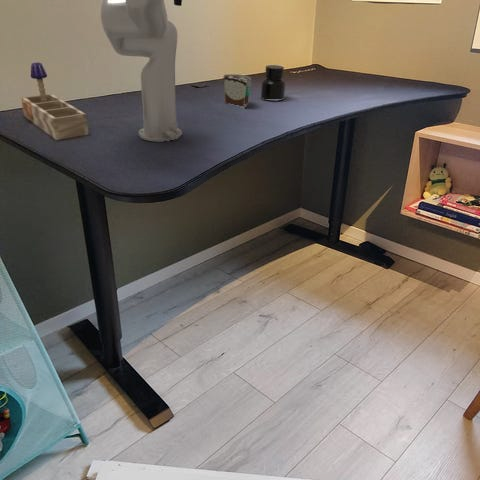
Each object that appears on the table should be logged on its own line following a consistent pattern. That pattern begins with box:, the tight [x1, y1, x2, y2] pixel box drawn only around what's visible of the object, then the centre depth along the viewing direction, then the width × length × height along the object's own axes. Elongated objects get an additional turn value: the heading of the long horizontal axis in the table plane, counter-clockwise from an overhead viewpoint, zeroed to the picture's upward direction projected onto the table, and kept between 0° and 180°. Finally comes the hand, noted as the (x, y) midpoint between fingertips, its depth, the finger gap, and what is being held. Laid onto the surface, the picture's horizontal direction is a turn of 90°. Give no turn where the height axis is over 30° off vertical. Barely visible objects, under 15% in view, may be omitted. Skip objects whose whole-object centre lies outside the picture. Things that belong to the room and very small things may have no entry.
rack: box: [20, 93, 89, 141], centre depth 141 cm, size 26×10×6 cm, turn 40°
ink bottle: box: [260, 64, 286, 99], centre depth 180 cm, size 10×9×12 cm
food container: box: [222, 73, 253, 107], centre depth 171 cm, size 12×6×10 cm, turn 47°
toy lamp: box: [30, 62, 48, 102], centre depth 144 cm, size 5×5×17 cm
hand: (164, 5), depth 139 cm, fingers open, 9 cm apart
